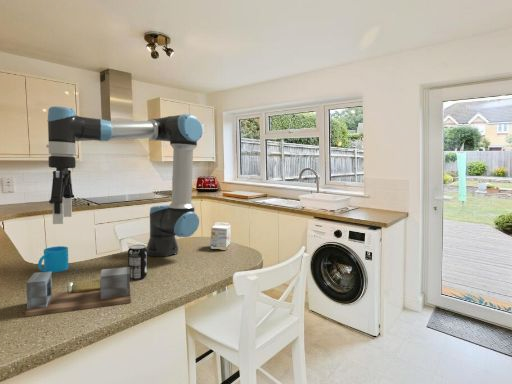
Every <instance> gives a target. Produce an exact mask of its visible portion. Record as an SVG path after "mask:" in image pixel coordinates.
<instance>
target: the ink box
mask: <svg viewBox="0 0 512 384" xmlns="http://www.w3.org/2000/svg"><path fill="white" fill-rule="evenodd" d="M210 230H211V231H210V247H211V246H213V247H227V246H228V245H229V244H230V245H231V234H232V233H231V232H232V225H231V224H230V223H229V222H220V221H215V222H214V225H213V226H212V227H210Z"/></svg>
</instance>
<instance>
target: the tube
mask: <svg viewBox="0 0 512 384" xmlns="http://www.w3.org/2000/svg"><path fill="white" fill-rule="evenodd" d="M93 291H101V281H100V278H97V279H96V278H95V279H84V280H75V281H68V282H67V291H66V292H68V294H76V293H84V292H93Z"/></svg>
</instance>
